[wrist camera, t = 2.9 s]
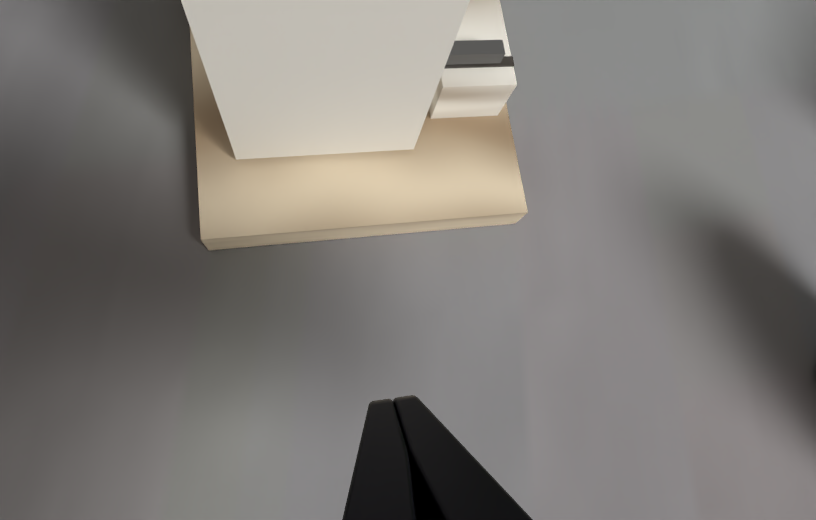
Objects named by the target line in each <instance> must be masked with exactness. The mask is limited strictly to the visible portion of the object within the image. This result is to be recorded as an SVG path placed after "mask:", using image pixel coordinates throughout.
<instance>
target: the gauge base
mask: <svg viewBox="0 0 816 520" xmlns="http://www.w3.org/2000/svg"><path fill="white" fill-rule="evenodd" d="M190 40H191V59H192V79H193V98H194V118H195V137H196V157H197V176H198V196H199V215H200V235H201V241H202V242H203V243H204V245H205V246H206V247H207V249H208V250H219V249H230V248H242V247H253V246H265V245H276V244H288V243H299V242H310V241H322V240H333V239H345V238H356V237H368V236H379V235H390V234H402V233H413V232H425V231H436V230H448V229H459V228H471V227H482V226H493V225H505V224H515V223H516V222H518V221H519V220H520V219H521V218H522V217H523V216H524V215H525V214H526V213H528V211H527V206H526V201H525V196H524V191H523V186H522V181H521V176H520V171H519V166H518V161H517V156H516V151H515V146H514V141H513V136H512V131H511V126H510V121H509V116H508V111H507V106H506V101H507V100H508V98H509V97H510V95H511V93H512V92H513V90H514V89H515V87H516V85H517V82H516V77H515V72H514V68H513V66H514V62H513V57H512V56H511V53H510V48H509V43H508V38H507V34H506V29H505V24H504V19H503V14H502V9H501V4H500V0H470V2H469V4H468V7H467V10H466V12H465V15H464V18H463V20H462V23H461V26H460V28H459V31H458V33H457V36H456V39H455V41H461V40H503V44H504V49H505V55H504V57H503V59H502V61H501V63H491V64H455V65H445V68H444V71H443V73H442V76H441V78H440V81H439V84H438V86H437V89H436V92H435V94H434V97H433V100H432V102H431V105H430V108H429V110H428V113H427V116H426V118H425V121H424V123H423V126H422V129H421V131H420V134H419V137H418V139H417V142H416V145H415V147H414V149H410V150H393V151H376V152H359V153H341V154H324V155H307V156H289V157H272V158H255V159H238V160H236V158H235V155H234V152H233V149H232V146H231V143H230V140H229V137H228V134H227V132H226V129H225V126H224V123H223V120H222V117H221V114H220V111H219V109H218V106H217V103H216V100H215V97H214V94H213V91H212V88H211V85H210V83H209V80H208V77H207V74H206V71H205V68H204V65H203V62H202V60H201V57H200V54H199V51H198V48H197V45H196V42H195V39H194V36H193V34H192V31H191V28H190Z"/></svg>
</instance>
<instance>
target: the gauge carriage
mask: <svg viewBox="0 0 816 520" xmlns="http://www.w3.org/2000/svg"><path fill="white" fill-rule="evenodd" d="M181 2H182V5H183V8H184V11H185V13H186V16H187V19H188V22H189V25H190V28H191V31H192V34H193V36H194V39H195V42H196V45H197V48H198V51H199V54H200V57H201V60H202V62H203V65H204V68H205V71H206V74H207V77H208V80H209V83H210V85H211V88H212V91H213V94H214V97H215V100H216V103H217V106H218V109H219V111H220V114H221V117H222V120H223V123H224V126H225V129H226V132H227V134H228V137H229V140H230V143H231V146H232V149H233V152H234V155H235V158H236V160H238V159H255V158H272V157H289V156H307V155H324V154H341V153H359V152H376V151H393V150H410V149H414V147H415V145H416V142H417V139H418V137H419V134H420V131H421V129H422V126H423V123H424V121H425V118H426V116H427V113H428V110H429V108H430V105H431V102H432V100H433V97H434V94H435V92H436V89H437V86H438V84H439V81H440V78H441V76H442V73H443V71H444V68H445V65H455V64H491V63H501V61H502V59H503V57H504V55H505V49H504V44H503V40H461V41H455V39H456V36H457V33H458V31H459V28H460V26H461V23H462V20H463V18H464V15H465V12H466V10H467V7H468V4H469V2H470V0H181Z"/></svg>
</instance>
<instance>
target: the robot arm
mask: <svg viewBox="0 0 816 520" xmlns="http://www.w3.org/2000/svg"><path fill="white" fill-rule="evenodd" d="M342 520H532V519H531V517H530V516H529V515H528V514H527V513H526V512H525V511H524V510H523V509H522V508H521V507H520V506H519V505H518V504H517V503H516V502H515V501H514V499H513V498H512V497H511V496H510V495H509V494H508V493H507V492H506V491H505V490H504V489H503V488H502V487H501V486H500V485H499V484H498V482H497V481H496V480H495V479H494V478H493V477H492V476H491V475H490V474H489V473H488V472H487V471H486V470H485V469H484V468H483V467H482V465H481V464H480V463H479V462H478V461H477V460H476V459H475V458H474V457H473V456H472V455H471V454H470V453H469V452H468V451H467V450H466V448H465V447H464V446H463V445H462V444H461V443H460V442H459V441H458V440H457V439H456V438H455V437H454V436H453V435H452V434H451V433H450V432H449V430H448V429H447V428H446V427H445V426H444V425H443V424H442V423H441V422H440V421H439V420H438V419H437V418H436V417H435V416H434V415H433V413H432V412H431V411H430V410H429V409H428V408H427V407H426V406H425V405H424V404H423V403H422V402H421V401H420V400H419V399H418V398H417V397H416V396H413V395H411V396H404V397H397V398H395V399H394V400H393V401H392V400H391V399H384V400H377V401H372V402H370V404H369V407H368V411H367V415H366V420H365V424H364V428H363V433H362V437H361V441H360V446H359V450H358V454H357V459H356V463H355V467H354V472H353V476H352V480H351V485H350V489H349V493H348V498H347V502H346V506H345V511H344V515H343V519H342Z"/></svg>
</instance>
